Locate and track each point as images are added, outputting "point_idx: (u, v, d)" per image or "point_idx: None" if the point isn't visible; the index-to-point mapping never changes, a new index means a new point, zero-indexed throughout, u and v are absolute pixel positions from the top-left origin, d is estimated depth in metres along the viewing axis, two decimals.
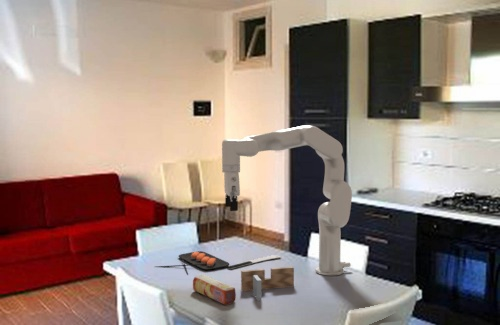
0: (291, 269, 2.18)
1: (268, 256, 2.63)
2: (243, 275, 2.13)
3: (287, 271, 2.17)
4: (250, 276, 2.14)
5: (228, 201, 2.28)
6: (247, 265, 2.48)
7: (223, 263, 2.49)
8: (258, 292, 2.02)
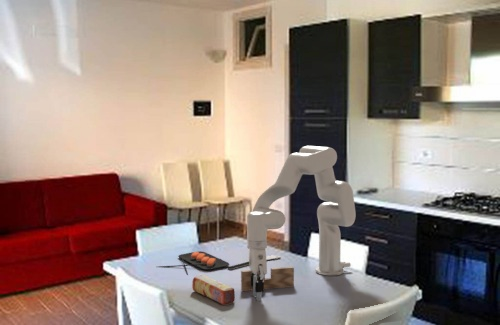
0: (291, 269, 2.18)
1: (268, 256, 2.63)
2: (243, 275, 2.13)
3: (287, 271, 2.17)
4: (250, 276, 2.14)
5: None
6: (247, 265, 2.48)
7: (223, 263, 2.49)
8: (258, 292, 2.02)
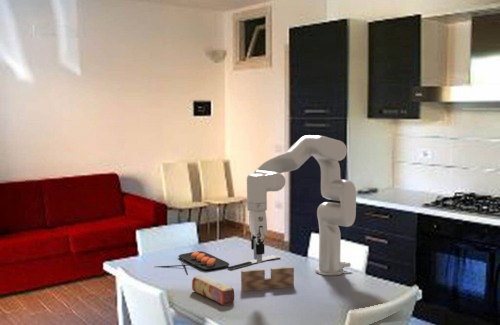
0: (291, 269, 2.18)
1: (267, 256, 2.62)
2: (243, 275, 2.13)
3: (287, 271, 2.17)
4: (250, 276, 2.14)
5: None
6: (247, 265, 2.48)
7: (223, 263, 2.49)
8: None
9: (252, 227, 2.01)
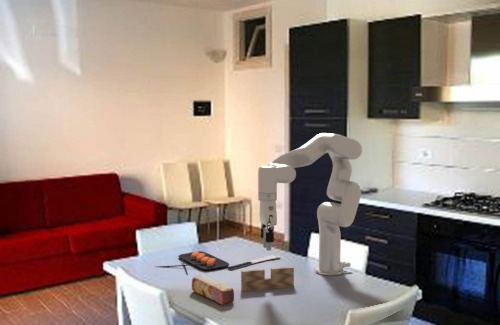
0: (291, 269, 2.18)
1: (267, 256, 2.62)
2: (243, 275, 2.13)
3: (287, 271, 2.17)
4: (250, 276, 2.14)
5: None
6: (247, 265, 2.48)
7: (223, 263, 2.49)
8: (268, 242, 2.11)
9: (262, 216, 2.12)
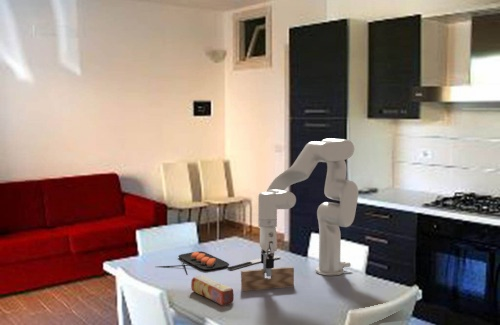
0: (291, 269, 2.18)
1: None
2: (243, 275, 2.13)
3: (287, 271, 2.17)
4: (250, 276, 2.14)
5: None
6: None
7: (223, 263, 2.49)
8: None
9: (262, 242, 2.13)
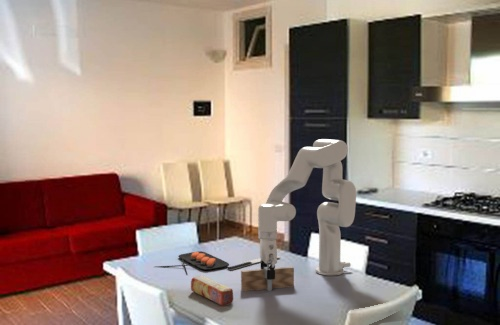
0: (291, 269, 2.18)
1: None
2: (243, 275, 2.13)
3: (287, 271, 2.17)
4: (250, 276, 2.14)
5: (263, 266, 2.20)
6: None
7: (223, 263, 2.49)
8: (269, 283, 2.13)
9: (263, 254, 2.13)
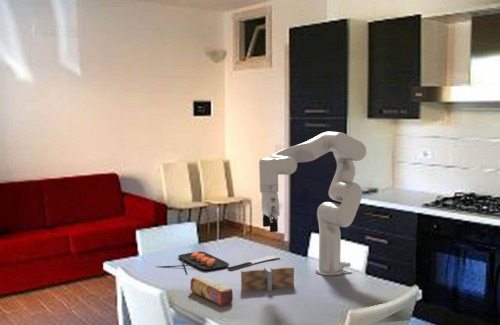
0: (291, 269, 2.18)
1: (267, 256, 2.62)
2: (243, 275, 2.13)
3: (287, 271, 2.17)
4: (250, 276, 2.14)
5: (266, 221, 2.21)
6: None
7: (223, 263, 2.49)
8: (269, 283, 2.13)
9: (265, 208, 2.14)
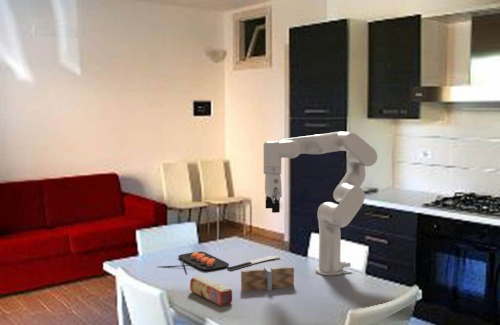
0: (291, 269, 2.18)
1: (266, 257, 2.62)
2: (243, 275, 2.13)
3: (287, 271, 2.17)
4: (250, 276, 2.14)
5: (268, 203, 2.29)
6: None
7: (223, 263, 2.49)
8: (269, 283, 2.13)
9: (268, 189, 2.22)
